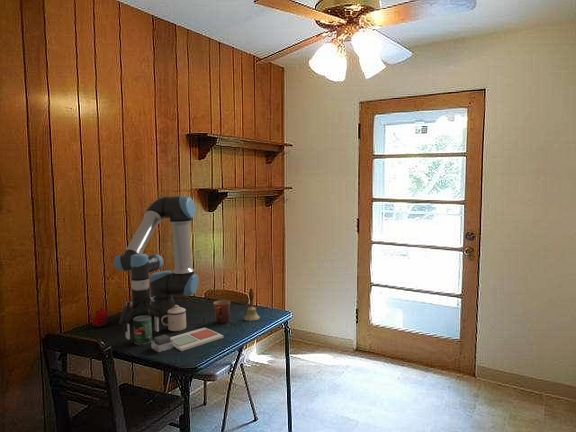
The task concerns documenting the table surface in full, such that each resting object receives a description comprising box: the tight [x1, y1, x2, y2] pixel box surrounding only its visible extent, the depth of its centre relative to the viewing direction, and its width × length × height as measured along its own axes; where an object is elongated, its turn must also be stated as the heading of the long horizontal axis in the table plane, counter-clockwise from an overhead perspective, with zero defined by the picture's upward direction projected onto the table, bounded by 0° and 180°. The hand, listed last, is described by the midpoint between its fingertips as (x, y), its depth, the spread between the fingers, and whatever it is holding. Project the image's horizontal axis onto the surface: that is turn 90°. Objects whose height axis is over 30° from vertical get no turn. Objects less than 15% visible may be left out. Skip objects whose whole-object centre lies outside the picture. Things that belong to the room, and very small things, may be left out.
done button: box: [153, 334, 171, 345], centre depth 180 cm, size 5×5×3 cm
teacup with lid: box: [160, 304, 187, 332], centre depth 204 cm, size 12×9×12 cm
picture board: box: [169, 326, 224, 352], centre depth 189 cm, size 16×22×1 cm
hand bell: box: [243, 288, 261, 322], centre depth 217 cm, size 8×8×16 cm
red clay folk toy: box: [92, 297, 109, 328], centre depth 211 cm, size 8×7×15 cm
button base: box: [150, 340, 175, 353], centre depth 180 cm, size 7×7×3 cm
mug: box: [212, 299, 231, 325], centre depth 211 cm, size 12×9×10 cm
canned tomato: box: [132, 314, 154, 346], centre depth 188 cm, size 8×8×11 cm
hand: (142, 334), depth 188 cm, fingers open, 13 cm apart
